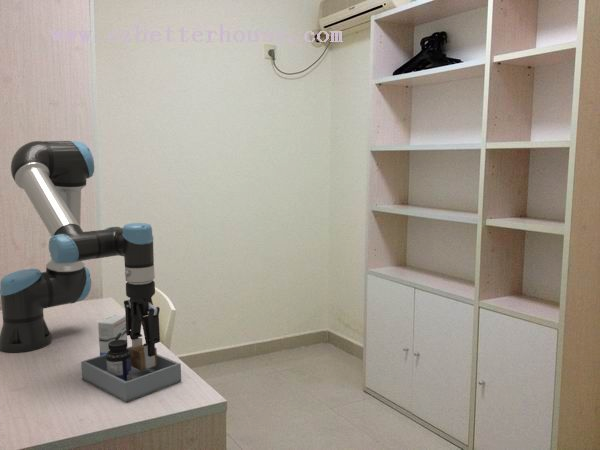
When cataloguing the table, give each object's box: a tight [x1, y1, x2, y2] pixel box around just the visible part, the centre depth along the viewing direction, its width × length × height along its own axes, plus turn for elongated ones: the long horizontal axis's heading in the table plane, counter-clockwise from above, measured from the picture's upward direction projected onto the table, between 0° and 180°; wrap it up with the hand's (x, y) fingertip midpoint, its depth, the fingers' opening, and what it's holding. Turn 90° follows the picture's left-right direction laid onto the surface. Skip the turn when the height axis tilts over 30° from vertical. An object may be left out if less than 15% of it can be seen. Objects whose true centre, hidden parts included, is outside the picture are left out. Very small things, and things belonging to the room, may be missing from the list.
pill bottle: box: [106, 340, 132, 381], centre depth 148 cm, size 6×6×11 cm
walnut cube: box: [130, 344, 158, 371], centre depth 154 cm, size 5×5×5 cm
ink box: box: [97, 314, 129, 356], centre depth 169 cm, size 8×5×12 cm, turn 168°
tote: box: [81, 345, 182, 404], centre depth 151 cm, size 22×17×5 cm
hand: (144, 364), depth 154 cm, fingers closed on walnut cube, 5 cm apart
